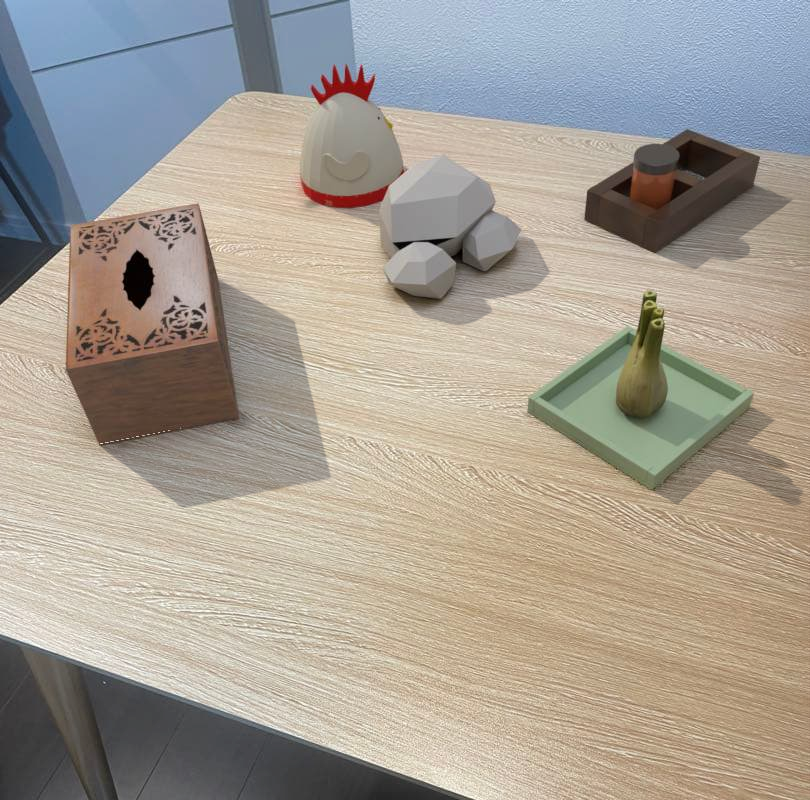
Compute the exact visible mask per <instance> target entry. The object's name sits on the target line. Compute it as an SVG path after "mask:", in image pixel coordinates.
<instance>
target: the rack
mask: <svg viewBox="0 0 810 800" xmlns="http://www.w3.org/2000/svg"><path fill="white" fill-rule="evenodd" d="M663 144H664V145H668V146H671V147H673V148H675V149H676V150H677V151H678V152H679V155H680V156H679V162H678V167H677V169H676V175H675V180H674V186H673V192H672V197H671V201H670V202H669V203H667V204H666V205H664V206H663V207H661V208H660V209H658V210H656V209H654V208H651V207H649V206H647V205H645V204H642V203H640V202H638V201H636V200H633V199H631V198H629V196H630V188H631V181H632V174H633V166H634V165H633V162H631V163H629V164H628V165H625V167H623V168H620V170H617V171H616V172H615V173H613V174H612V175H609V176H607V177H606V178H604V179H603V180H601V181H600V182H598V183H596V184H595V185H593V186H591V187H590V188H588V189H587V190H586V196H585V197H586V198H585V208H584V218H583V220H584V221H585V222H586V221H587V222H589V223H590V224H593V225H595V226H597V227H599V228H601V229H603V230H606V231H608V232H610V233H611V234H613V235H616V236H618V237H620V238H622V239H624V240H627V241H629V242H631V243H634V244H635V245H637V246H639V247H642V248H644V249H645V250H648V251H650V252H652V253H654V254H655V253H658V252H659V251H661V250H662V249H663V248H665V247H666V246H669V244H671V243H673V242H674V241H675V240H678V238H680V237H681V236H683V235H684V234H686V233H688V232H689V230H691V229H693V228H694V227H696V226H698V225H699V224H700V223H702V222H703V221H705V220H707V219H708V218H709V217H710V216H712V215H714V214H715V213H717V212H718V211H719V210H721V209H722V208H724V207H725V206H726V205H728V204H729V203H731V202H733V201H734V200H735V199H737V198H738V197H740V196H741V195H743V194H744V193H745V192H747V191H749V190H750V189H752V188H754V185H755V180H756V176H757V173H758V168H759V164H760V160H761V156H759V155H757V154H755V153H752V152H749V151H747V150H744V149H741V148H738V147H736V146H733V145H730V144H728V143H726V142H723V141H721V140H717V139H715V138H712V137H710V136H707V135H704V134H702V133H699V132H696V131H693V130H691V129H688V128H687V129H685V130H683V131H681V132H680V133H678V134H677V135H675V136H673V137H672V138H670V139H669V140H667V141H665V142H664V143H663ZM684 170H688V171H690V172H692V173H695V174H698V175H700V176H702V177H705V178H704V179H702V178H700V177H698V176H695V175H693V174H690V173H687V172H685V171H684Z"/></svg>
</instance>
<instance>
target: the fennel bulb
mask: <svg viewBox="0 0 810 800" xmlns="http://www.w3.org/2000/svg"><path fill="white" fill-rule="evenodd" d="M657 299H658V293H657V292H656V291H654V290H653V289H646V290H645V291H644V293H643V295H642V301H641V306H640V307H641V309H640V313H639V319H638V324H637V329H636V330H637V332H636V336H635V340H634V342H633V344H632V347H631V350H630V352H629V354H628V356H627V359H626V361H625V364H624V366H623V369H622V371H621V374H620V377H619V380H618V383H617V388H616V404H617V406H618V408H619V409H620V410H621V411H622V412H623V413H625V414H627V415H629V416H636V417H648V416H650V415H651V414H653V413H655V412H656V411H658V410H659V409H660V408H661V407H662V406H663V404H664V403H665V400H666V397H667V392H668V385H667V379H666V375H665V372H664V369H663V366H662V363H661V361H660V358H659V357H660V350H661V344H663V339H664V333H665V327H666V322H665V320H664V316H665V309H664V307H658V303H657Z"/></svg>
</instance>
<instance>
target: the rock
mask: <svg viewBox="0 0 810 800" xmlns="http://www.w3.org/2000/svg"><path fill="white" fill-rule="evenodd" d="M496 202H497V201H496V198H495V194H494V192H493V189H492V186H491V183H490V182H488V181H486V180H485V179H484V178H481V177H480V176H479V175H477V174H475V173H474V172H472V171H470V170H468V169H467V168H465V167H463V166H462V165H460V164H459V163H457V162H456V161H454V160H453V159H452V158H450V157H449V156H447V155H446V154H444V153H441V154H439V155H437V156H435V157H431V158H429V159H426V160H423V161H420V162H419V163H416V164H413V165H411V166H410V167H409V168H408V169H406V171H404V173H403V174H402V175H401V176H400V177H399V178H398V179H396V180H395V181H394V182H393V183H392V184H391V185H389V187H388V190H387V192H386V194H385V197H384V199H383V200H382V201H381V203H380V206H379V209H378V217H379V218H378V219H379V234H380V246H381V248H382V249H383V250H384V251H385V253H386V254H387V256H388V257H389V258H390V259H389V260H388V261H387V262H386V263H385V264H384V265H383V266H382V268H381V269H382V271H383V273H384V275H385V278H386V280H387V282H388V284H389V285H390V286H392V287H394V288H396V289H398V290H399V291H403V292H404V293H406V294H409V295H411V296H414V297H420V298H421V297H422V298H431V299H441V300H442V298H443V297H444V296H445V295H446V294H447V293H448V291H449V290H450V289H451V288H452V287H453V286H454V284H455V275H456V268H457V262H456V261H455V260H454V259H453V258H452V257H454V256H455V255H457V254H458V253H459V252H460V251H461V250H462V262H463V263H465V264H467V265H469V266H471V267H474V268H475V269H478V270H480V271H482V272H484V273H485V272H486V271H488V270H489V269H490V268H491V267H492V266H494V265H495V264H496V263H498V261H500V260H501V259H502V258H503V257H504V256H506V255H507V254H508V253H510V252H511V251H512V250H513V248H514V247H515V244H516V243H517V240H518V238H519V236H520V233H521V231H522V229H521V228H520V227H519V226H518V225H517V224H516V223H515V222H514V221H513V220H512V219H510V218H509V216H507V215H505V214H503V213H500V212H497V211H494V210H493V209H494V207H495V205H496Z"/></svg>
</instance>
